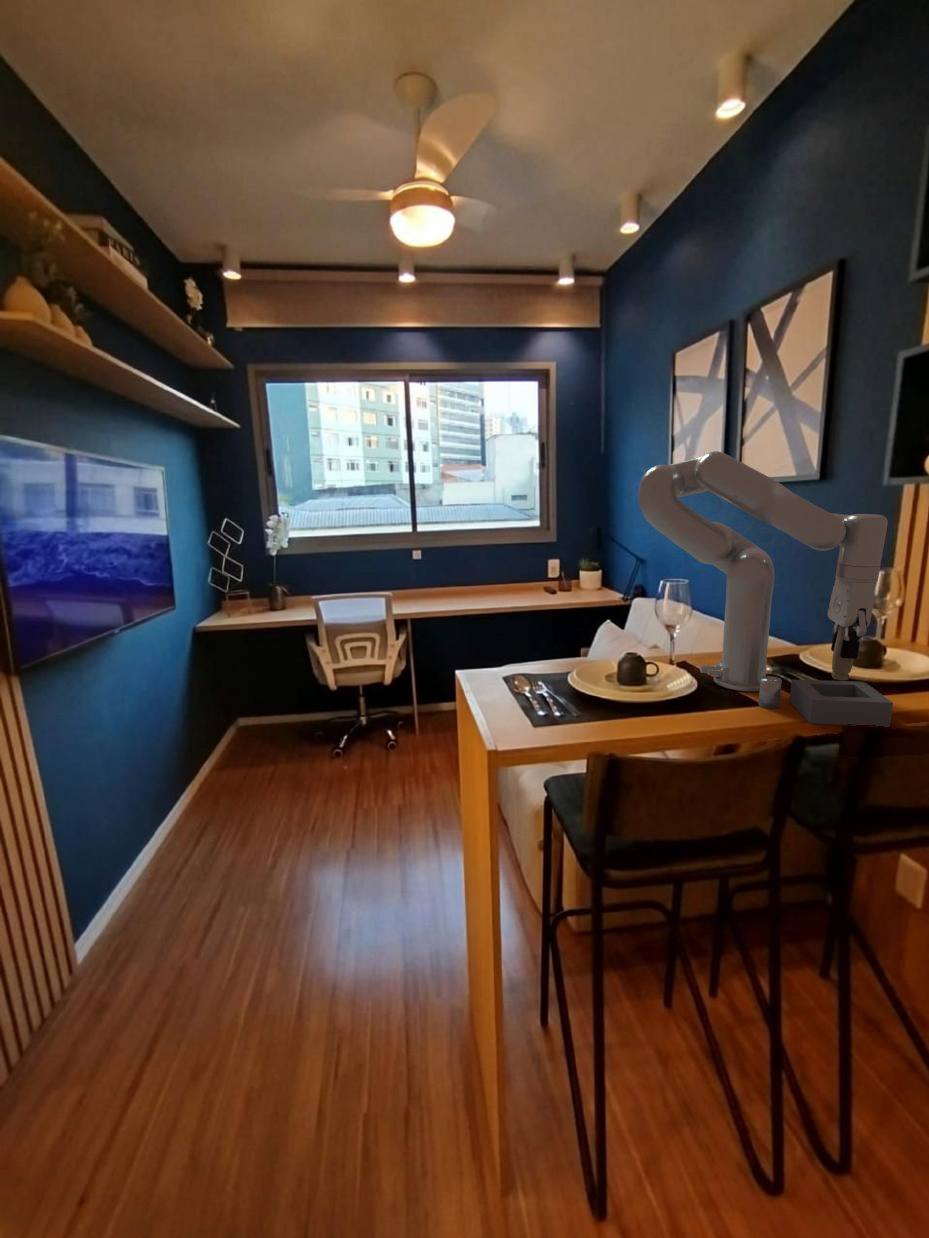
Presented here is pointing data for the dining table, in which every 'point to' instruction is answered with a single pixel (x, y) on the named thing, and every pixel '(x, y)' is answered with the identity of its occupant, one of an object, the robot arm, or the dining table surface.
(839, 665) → the handle
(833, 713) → the block
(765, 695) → the short peg
